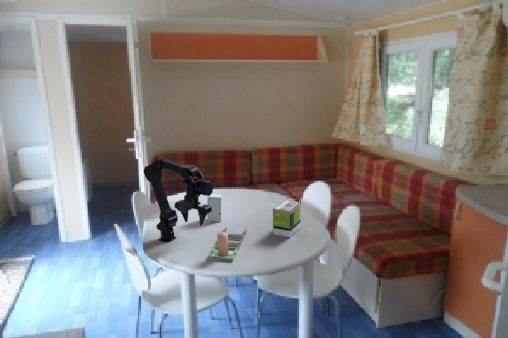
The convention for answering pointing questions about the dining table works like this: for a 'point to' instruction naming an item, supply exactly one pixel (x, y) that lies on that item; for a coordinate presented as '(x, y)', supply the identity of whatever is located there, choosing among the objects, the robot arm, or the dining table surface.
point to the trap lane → (232, 247)
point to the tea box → (286, 218)
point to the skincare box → (215, 207)
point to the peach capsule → (222, 244)
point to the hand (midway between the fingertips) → (193, 223)
